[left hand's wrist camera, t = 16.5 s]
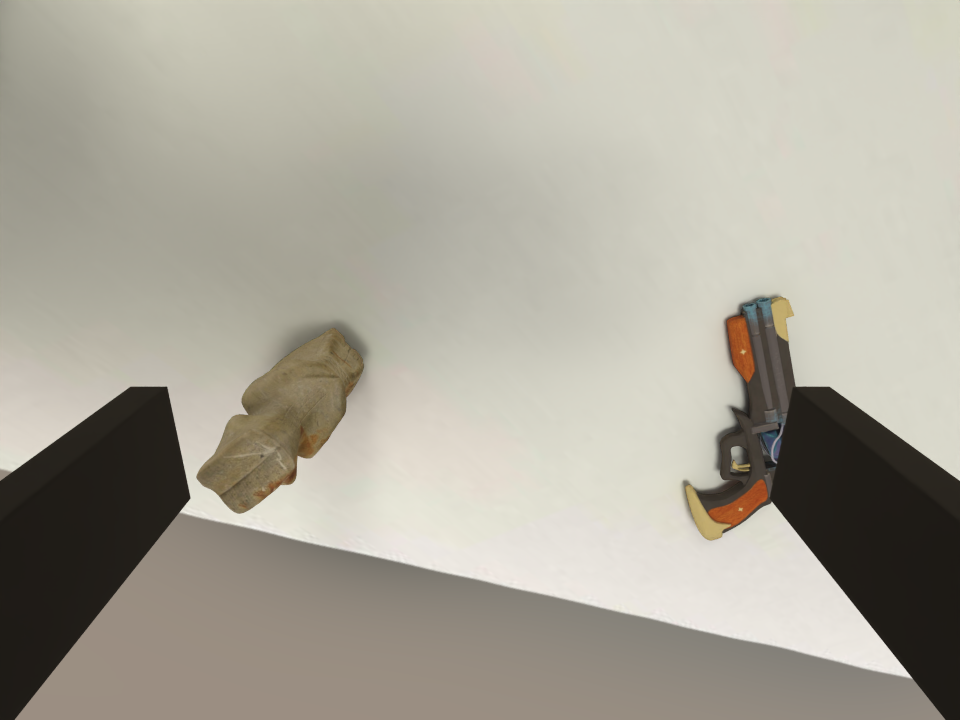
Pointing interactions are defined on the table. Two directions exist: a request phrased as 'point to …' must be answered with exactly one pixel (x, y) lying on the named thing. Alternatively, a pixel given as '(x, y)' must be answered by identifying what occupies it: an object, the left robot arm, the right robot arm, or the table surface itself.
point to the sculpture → (283, 421)
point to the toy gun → (752, 417)
